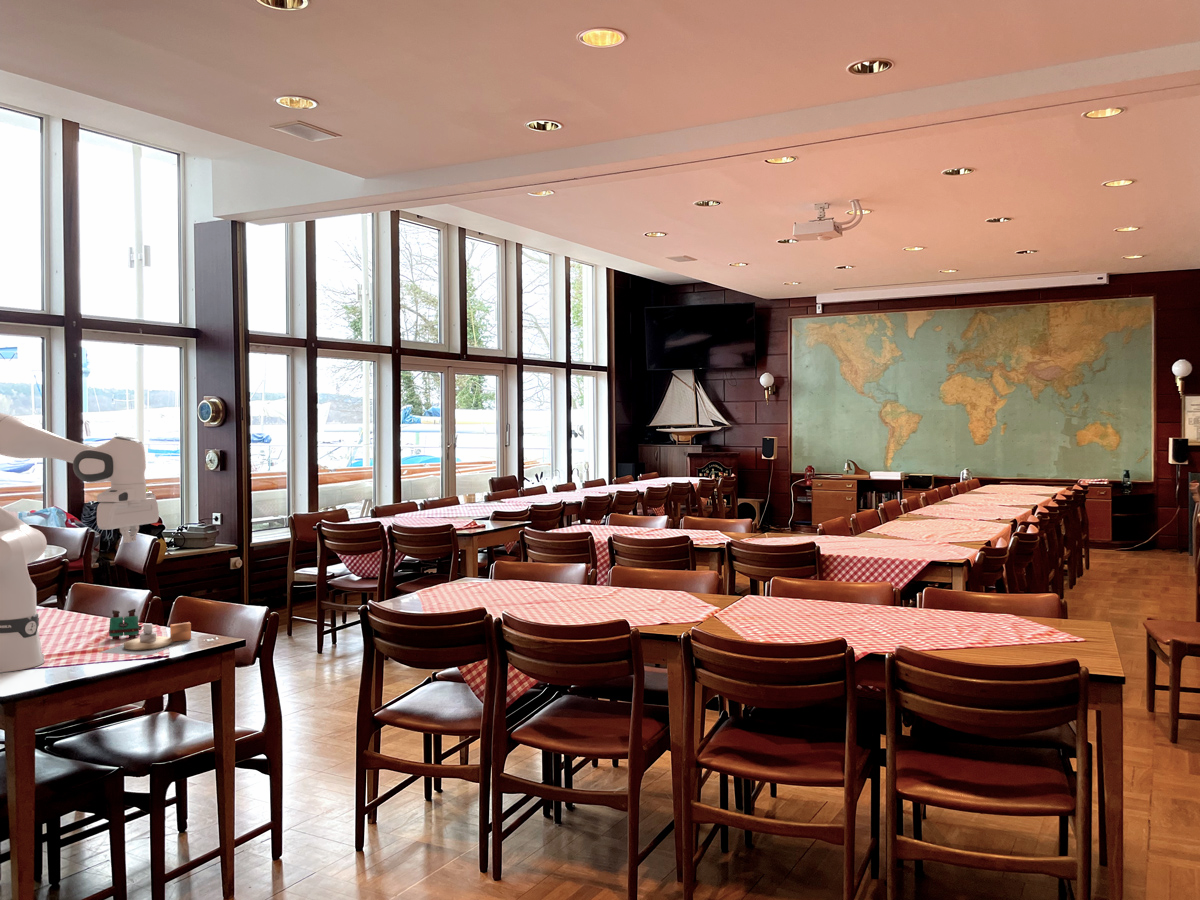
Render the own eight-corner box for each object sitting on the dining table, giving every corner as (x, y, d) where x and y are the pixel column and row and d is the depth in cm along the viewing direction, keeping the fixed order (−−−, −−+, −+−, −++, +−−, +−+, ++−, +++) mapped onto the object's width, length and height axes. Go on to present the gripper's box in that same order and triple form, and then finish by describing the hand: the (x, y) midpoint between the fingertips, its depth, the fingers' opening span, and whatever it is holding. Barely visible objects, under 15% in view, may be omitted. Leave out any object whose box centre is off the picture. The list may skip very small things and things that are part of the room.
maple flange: (129, 652, 261) (128, 635, 261) (119, 644, 271) (119, 627, 271) (196, 642, 273) (195, 626, 272) (184, 634, 283) (184, 619, 282)
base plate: (99, 657, 262) (98, 630, 262) (147, 641, 282) (147, 616, 281) (148, 660, 258) (148, 633, 258) (194, 644, 278) (194, 618, 278)
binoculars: (142, 606, 289) (138, 609, 280) (142, 639, 288) (138, 642, 279) (111, 608, 286) (106, 611, 276) (111, 641, 285) (106, 645, 276)
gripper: (145, 490, 264) (146, 537, 264) (91, 496, 244) (92, 546, 244) (164, 491, 262) (164, 537, 262) (111, 496, 242) (112, 547, 243)
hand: (129, 542), depth 253 cm, fingers closed
